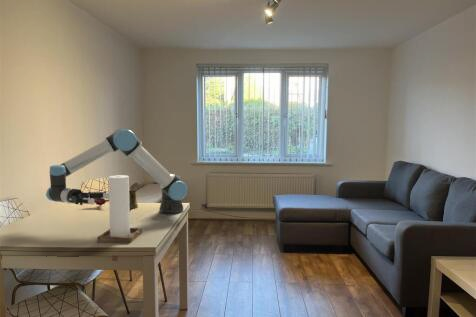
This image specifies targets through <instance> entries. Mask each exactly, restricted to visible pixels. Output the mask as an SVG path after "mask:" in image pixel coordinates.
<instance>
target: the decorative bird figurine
mask: <svg viewBox="0 0 476 317" xmlns="http://www.w3.org/2000/svg"><path fill="white" fill-rule="evenodd" d="M92 199H94V204H96V207H97V208H102V206H103V205H105V204H107V202H109V199H105V198H92Z"/></svg>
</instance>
